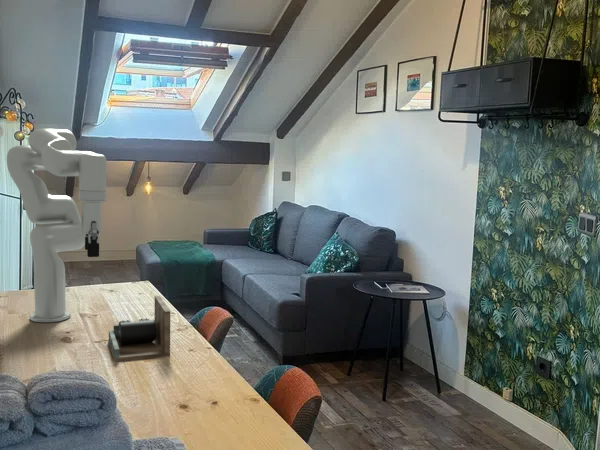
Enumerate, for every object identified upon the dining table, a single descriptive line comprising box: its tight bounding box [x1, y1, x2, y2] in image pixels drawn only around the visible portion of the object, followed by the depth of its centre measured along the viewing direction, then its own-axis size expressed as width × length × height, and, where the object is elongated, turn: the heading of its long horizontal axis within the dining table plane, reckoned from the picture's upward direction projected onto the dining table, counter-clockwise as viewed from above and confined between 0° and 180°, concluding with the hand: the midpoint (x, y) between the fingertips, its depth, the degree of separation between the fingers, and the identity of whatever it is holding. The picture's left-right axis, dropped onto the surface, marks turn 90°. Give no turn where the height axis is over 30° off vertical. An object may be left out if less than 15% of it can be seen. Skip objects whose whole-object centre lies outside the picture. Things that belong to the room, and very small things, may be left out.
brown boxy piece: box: [108, 295, 171, 362], centre depth 177 cm, size 18×15×13 cm
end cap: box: [118, 318, 156, 345], centre depth 179 cm, size 10×7×7 cm
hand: (91, 253), depth 182 cm, fingers open, 9 cm apart
